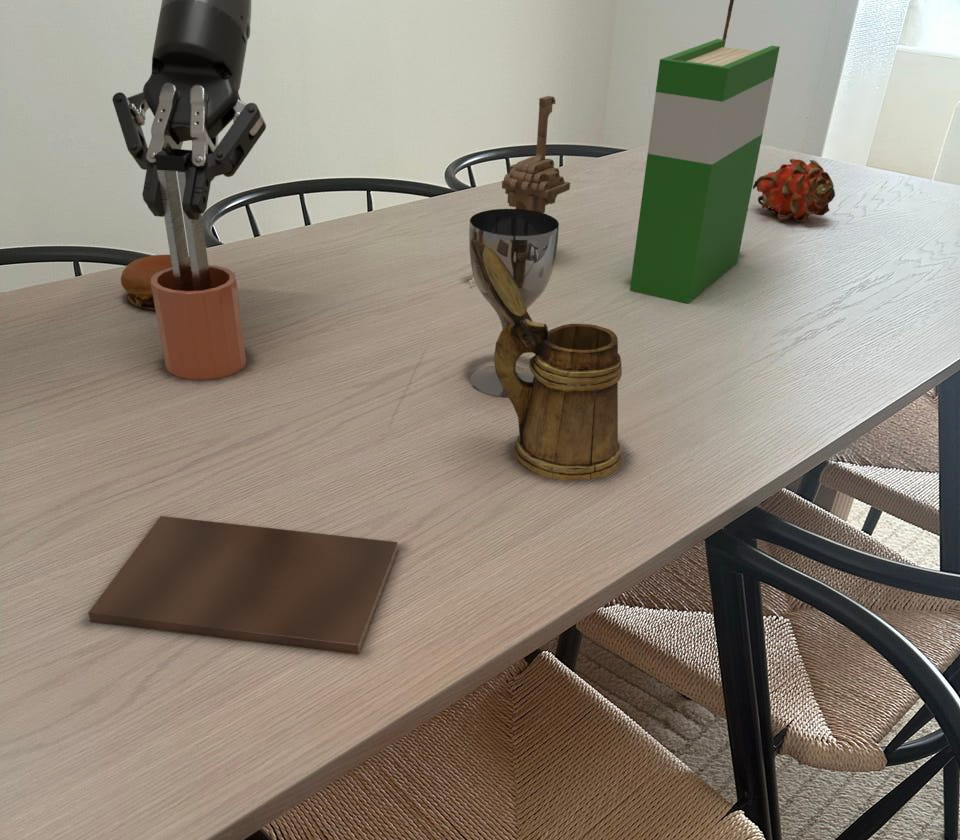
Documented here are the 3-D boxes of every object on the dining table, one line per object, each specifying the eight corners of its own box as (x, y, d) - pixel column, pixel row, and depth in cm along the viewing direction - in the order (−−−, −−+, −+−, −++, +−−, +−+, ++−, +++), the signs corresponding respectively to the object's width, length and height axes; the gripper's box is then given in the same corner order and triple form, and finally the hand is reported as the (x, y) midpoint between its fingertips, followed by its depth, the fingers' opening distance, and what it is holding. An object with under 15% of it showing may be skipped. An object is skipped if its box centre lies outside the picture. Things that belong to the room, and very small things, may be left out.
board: (92, 630, 65) (87, 612, 64) (163, 532, 74) (160, 515, 73) (358, 663, 63) (357, 645, 63) (398, 558, 73) (397, 541, 72)
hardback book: (683, 250, 130) (717, 38, 114) (737, 261, 127) (779, 46, 112) (629, 290, 118) (660, 59, 102) (688, 303, 115) (728, 68, 100)
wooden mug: (472, 428, 89) (478, 220, 78) (622, 443, 88) (651, 234, 76) (455, 477, 82) (459, 257, 71) (618, 494, 81) (648, 272, 69)
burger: (136, 286, 113) (128, 245, 110) (219, 287, 114) (213, 246, 111) (118, 320, 105) (110, 276, 102) (207, 321, 106) (201, 277, 103)
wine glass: (454, 390, 95) (457, 228, 85) (480, 358, 101) (486, 204, 91) (533, 404, 93) (545, 241, 84) (555, 371, 99) (569, 215, 89)
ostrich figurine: (521, 246, 129) (530, 91, 117) (565, 257, 126) (578, 99, 115) (444, 280, 118) (445, 113, 106) (490, 294, 115) (497, 123, 104)
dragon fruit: (828, 241, 140) (749, 235, 146) (850, 192, 141) (771, 189, 148) (820, 196, 133) (736, 192, 139) (843, 146, 134) (760, 144, 141)
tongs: (184, 347, 94) (154, 154, 83) (193, 338, 96) (165, 147, 85) (209, 350, 94) (182, 156, 83) (218, 340, 96) (193, 150, 85)
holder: (154, 383, 94) (137, 289, 88) (184, 351, 100) (169, 261, 94) (231, 390, 93) (218, 296, 88) (257, 358, 99) (247, 267, 93)
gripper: (109, -10, 84) (74, 182, 82) (268, 1, 83) (236, 196, 81) (145, 52, 91) (114, 229, 90) (292, 62, 90) (263, 242, 88)
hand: (173, 212), depth 85 cm, fingers closed on tongs, 2 cm apart
